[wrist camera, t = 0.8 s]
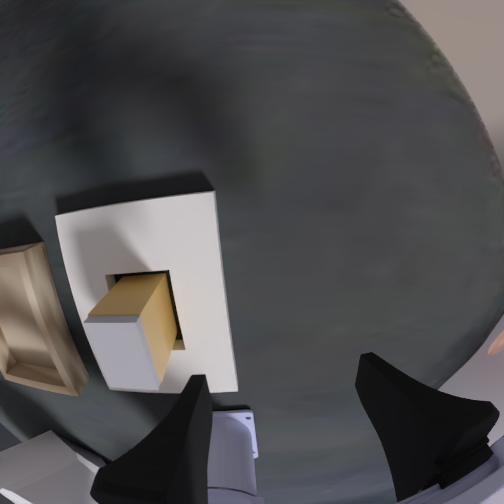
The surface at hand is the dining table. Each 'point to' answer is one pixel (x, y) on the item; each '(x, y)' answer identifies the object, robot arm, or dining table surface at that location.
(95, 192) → the dining table surface
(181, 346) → the socket block
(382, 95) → the dining table surface
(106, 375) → the block
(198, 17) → the dining table surface
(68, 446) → the white irregular angular block
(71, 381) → the parts tray
